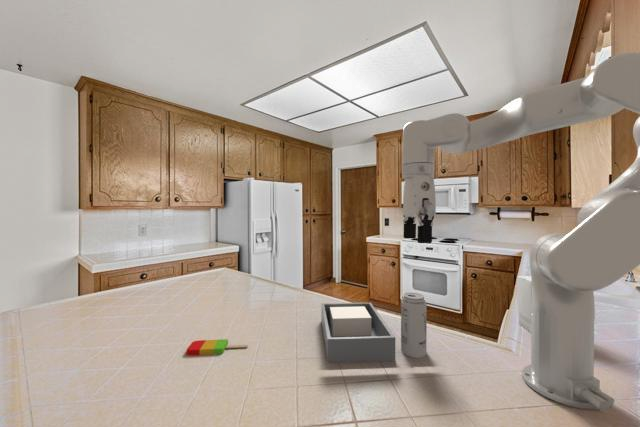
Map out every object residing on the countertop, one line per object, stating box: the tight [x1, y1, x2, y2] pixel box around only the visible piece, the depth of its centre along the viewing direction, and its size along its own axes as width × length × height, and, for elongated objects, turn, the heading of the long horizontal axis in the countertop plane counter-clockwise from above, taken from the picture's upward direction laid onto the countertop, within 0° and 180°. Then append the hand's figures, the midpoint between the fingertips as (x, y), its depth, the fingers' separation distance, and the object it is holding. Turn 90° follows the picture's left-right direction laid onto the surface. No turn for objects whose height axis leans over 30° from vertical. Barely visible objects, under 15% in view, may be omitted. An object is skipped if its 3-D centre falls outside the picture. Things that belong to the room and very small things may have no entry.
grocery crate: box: [321, 302, 396, 364], centre depth 75 cm, size 24×16×6 cm, turn 3°
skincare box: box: [516, 275, 532, 333], centre depth 82 cm, size 8×7×16 cm
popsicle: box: [186, 338, 249, 357], centre depth 71 cm, size 6×15×2 cm, turn 96°
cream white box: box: [330, 306, 371, 336], centre depth 81 cm, size 9×11×5 cm
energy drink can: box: [400, 292, 428, 359], centre depth 68 cm, size 6×6×15 cm
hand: (416, 240), depth 68 cm, fingers open, 9 cm apart
